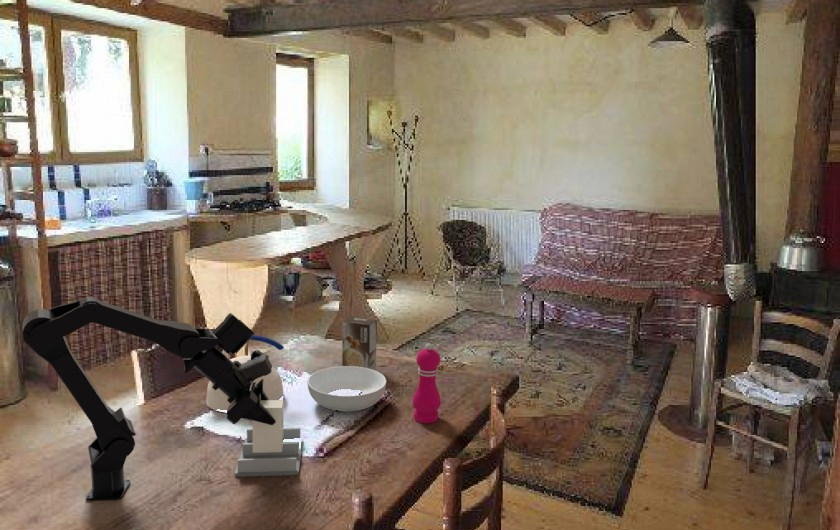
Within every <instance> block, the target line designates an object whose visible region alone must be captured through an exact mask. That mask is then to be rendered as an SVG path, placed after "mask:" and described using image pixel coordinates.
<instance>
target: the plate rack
mask: <svg viewBox="0 0 840 530" xmlns="http://www.w3.org/2000/svg"><path fill="white" fill-rule="evenodd" d="M294 438H301V427H283V440H284V439H294ZM241 445H242V448H241V452H240V455H239V458H237V465H236V469H235V472H234V477H236V478H239V477H244V478H245V477H269V476H271V477H272V476H273V477H274V476H277V477H278V476H299V474H300V467H301V466H300V465H301V460H302V459H301V457H302V451H301V450H300V449H299V442H283V448H282V452H267V453H253V428H247V429H246V438H245V439H244V442H242V444H241Z"/></svg>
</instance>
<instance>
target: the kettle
mask: <svg viewBox="0 0 840 530" xmlns="http://www.w3.org/2000/svg"><path fill="white" fill-rule="evenodd" d="M249 341H257V342H262V343H265V344H268V345H271V347H272V346H273V347H274V348H276V349H277V350H279V351H283V349H284V348H285V347H284V345H282V344H281V343H280V342H278V341H276V340H274V339H272V338H269V337H265V336H262V335H256V334H255V335H254V336H253V337H252V338H251V339H250V340H249ZM221 352H222V353H223V354H224V355H225V356H226V357H227V358H228V359H230V360H231V361H232V362H234V361H238V362H240V363H241V364H243V363H246V362H247V360H251V355H239V356H235V357H233V358H230V357H229V354H228V353H226V352H225V351H224V350H223V349H222V351H221ZM271 370H272V371H271V373H270V374H268V375H266V376H262V377H260V378H257V379H255V380H254V381H253V382H255V381H256V382H257V383H259V382H260V381H261V380H262V379H263V380H264V382H263V390H264V392H265V394H266V396H267V397H268V399H269V400H279V399H280V398H281V397H282V396H283V394H284V385H283V379H282V378H281V375H280V373H279V372H278V371H277V369H276V368H275V367H274V366H273V365H272V369H271ZM212 386H213V383H212V382H211V381H209V380H208V384H207V386H206V387H207V390H206V401H205V404H206V405H207V407H208V408H209V409H211V410H212V409H213V410H212V411H214V410H217V409H220V410H228V407H229V405H230V403H229V402H228V401H227V399H228V396H227V395H225V394H224V393H223V392H222V391H221V390H220V389H219V388H218V389H217V390H214V389H213V388H212Z"/></svg>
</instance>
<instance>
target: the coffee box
mask: <svg viewBox="0 0 840 530" xmlns="http://www.w3.org/2000/svg"><path fill="white" fill-rule="evenodd" d="M377 324H378V320H377V319H370V318H363V317H354V316H349V317H347V318H346V319H344V320H343V322H342V329H341V330H342V336H341V337H342V341H341V342H342V343H341V344H342V348H341V349H342V358H341V359H342V364H341V366H356V367H363V368H368V369H372V370H375V371H377Z"/></svg>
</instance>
